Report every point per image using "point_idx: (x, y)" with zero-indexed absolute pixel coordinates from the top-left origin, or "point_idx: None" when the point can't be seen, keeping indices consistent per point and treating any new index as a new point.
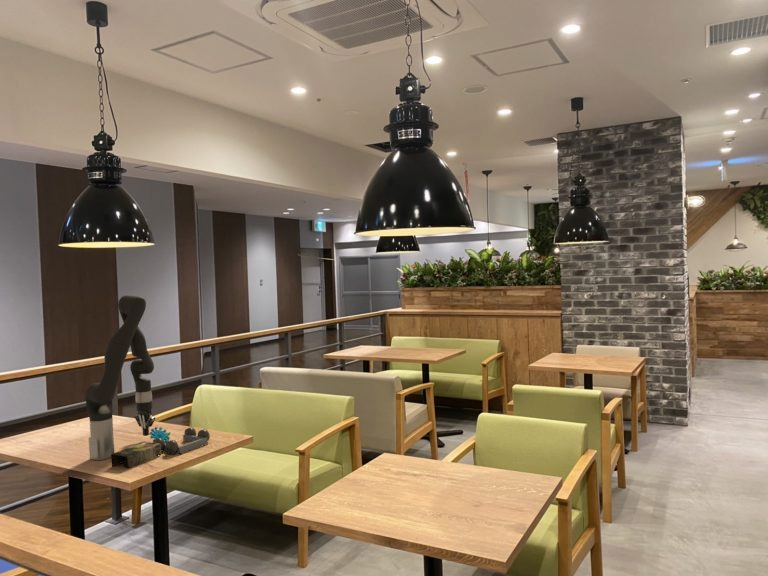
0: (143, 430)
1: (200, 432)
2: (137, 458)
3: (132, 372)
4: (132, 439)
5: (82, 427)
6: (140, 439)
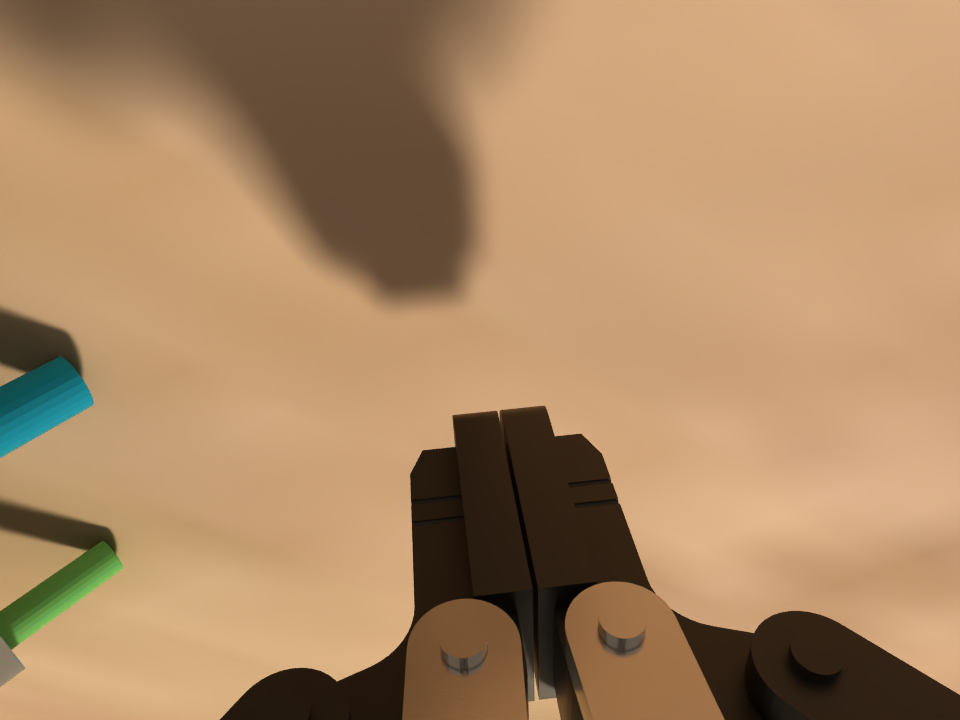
0: (536, 525)
1: None
2: None
3: None
4: (923, 257)
5: None
6: (708, 349)
